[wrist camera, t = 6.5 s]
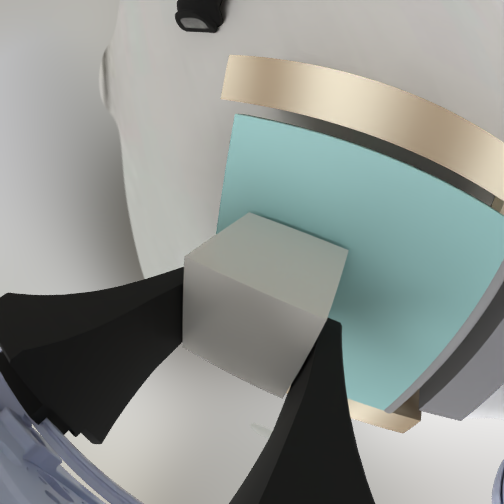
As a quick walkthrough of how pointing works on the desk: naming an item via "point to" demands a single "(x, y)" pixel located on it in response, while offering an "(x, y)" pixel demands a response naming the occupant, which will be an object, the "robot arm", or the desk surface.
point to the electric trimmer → (199, 15)
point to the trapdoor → (385, 261)
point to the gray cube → (259, 299)
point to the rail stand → (378, 125)
